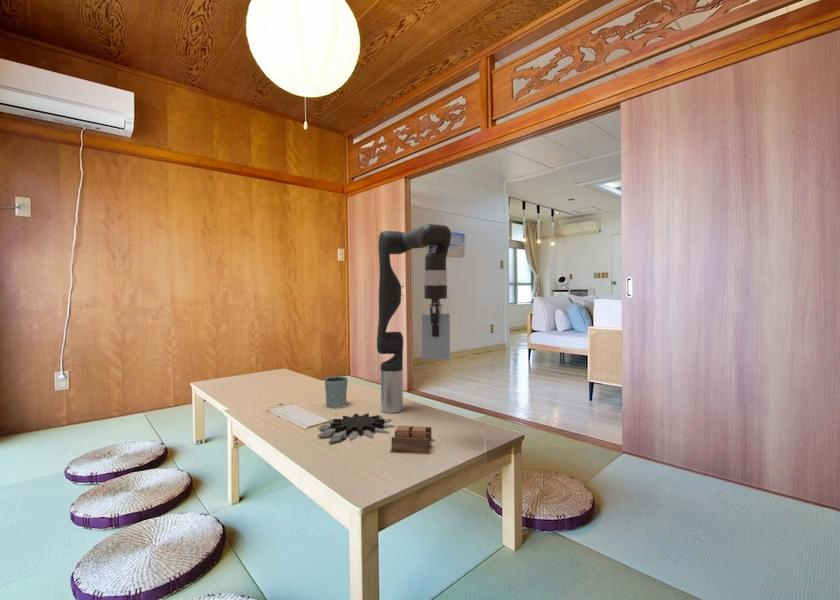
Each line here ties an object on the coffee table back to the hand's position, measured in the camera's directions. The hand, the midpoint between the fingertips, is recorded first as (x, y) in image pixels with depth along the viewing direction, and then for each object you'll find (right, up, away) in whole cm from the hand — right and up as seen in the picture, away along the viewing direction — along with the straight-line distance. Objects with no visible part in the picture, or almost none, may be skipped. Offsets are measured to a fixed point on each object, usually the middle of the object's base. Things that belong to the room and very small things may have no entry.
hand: (436, 335), depth 128 cm
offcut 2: (-6, -34, -10) cm, 36 cm away
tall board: (0, -8, 0) cm, 8 cm away
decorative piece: (-28, -36, +10) cm, 46 cm away
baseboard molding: (-55, -36, +26) cm, 71 cm away
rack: (-8, -35, -8) cm, 37 cm away
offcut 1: (-11, -34, -9) cm, 37 cm away
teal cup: (-43, -35, +42) cm, 70 cm away
